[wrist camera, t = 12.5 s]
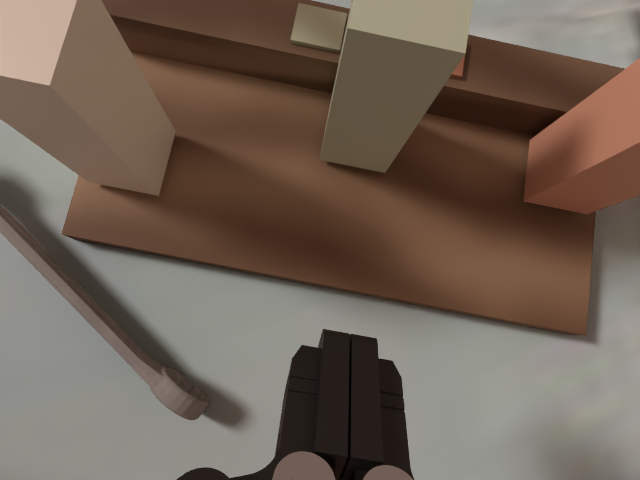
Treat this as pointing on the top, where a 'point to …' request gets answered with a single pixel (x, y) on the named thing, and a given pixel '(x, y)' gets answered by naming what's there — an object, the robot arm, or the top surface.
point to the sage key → (390, 75)
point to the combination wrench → (108, 326)
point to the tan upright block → (81, 93)
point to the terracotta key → (590, 150)
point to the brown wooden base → (348, 167)
